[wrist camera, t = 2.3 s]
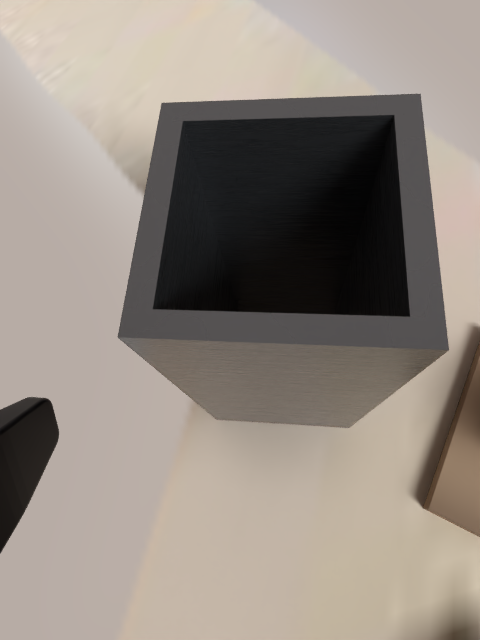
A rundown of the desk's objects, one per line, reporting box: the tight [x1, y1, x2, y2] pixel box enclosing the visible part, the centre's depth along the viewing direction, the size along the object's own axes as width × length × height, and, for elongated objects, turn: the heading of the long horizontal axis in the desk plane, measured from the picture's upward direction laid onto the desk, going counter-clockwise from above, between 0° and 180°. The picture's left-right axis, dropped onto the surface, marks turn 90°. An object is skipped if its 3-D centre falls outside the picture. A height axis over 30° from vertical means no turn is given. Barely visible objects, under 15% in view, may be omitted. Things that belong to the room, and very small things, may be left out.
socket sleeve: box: [118, 94, 449, 428], centre depth 14 cm, size 6×6×12 cm
